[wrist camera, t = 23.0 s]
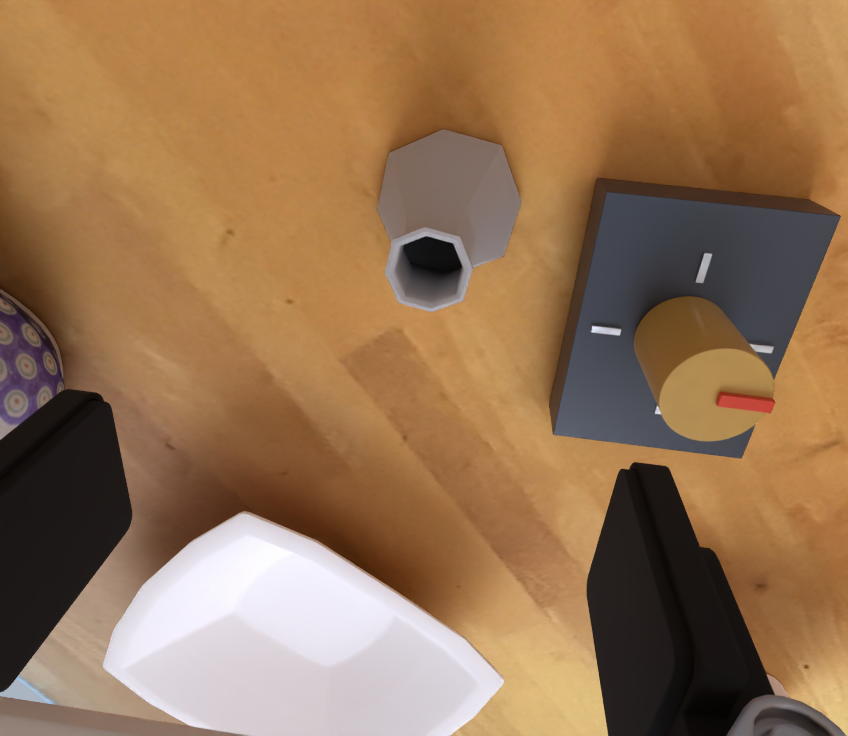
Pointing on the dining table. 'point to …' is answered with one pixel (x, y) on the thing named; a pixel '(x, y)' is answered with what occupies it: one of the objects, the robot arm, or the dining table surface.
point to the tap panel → (677, 295)
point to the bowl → (292, 643)
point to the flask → (445, 215)
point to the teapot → (25, 364)
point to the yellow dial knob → (702, 370)
